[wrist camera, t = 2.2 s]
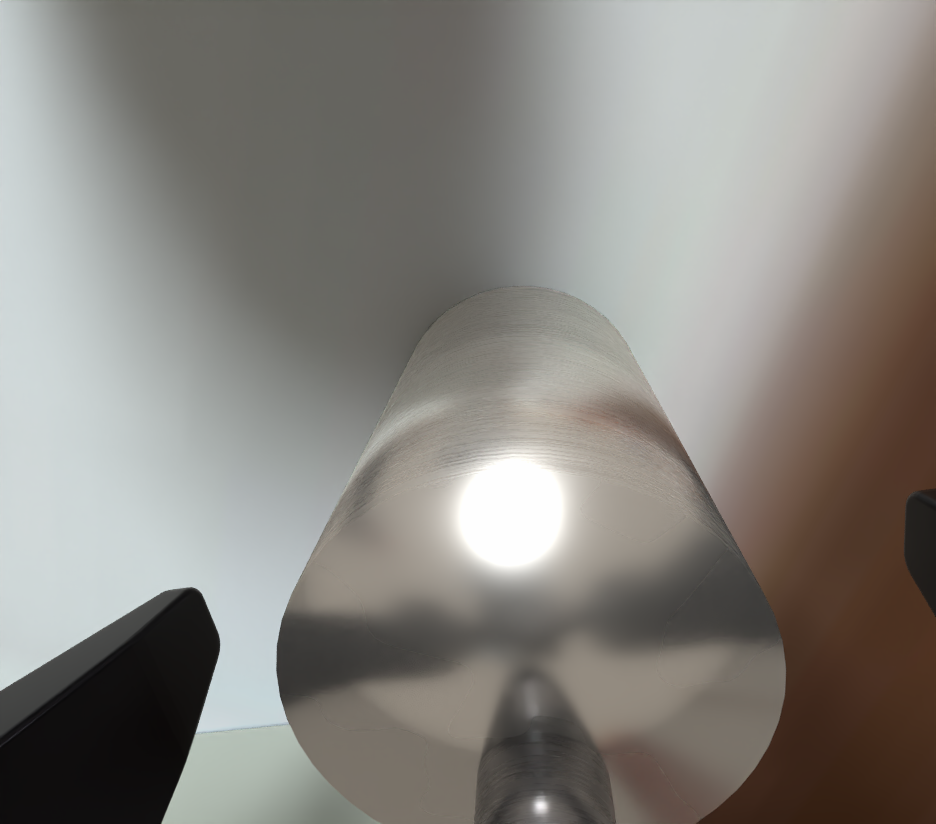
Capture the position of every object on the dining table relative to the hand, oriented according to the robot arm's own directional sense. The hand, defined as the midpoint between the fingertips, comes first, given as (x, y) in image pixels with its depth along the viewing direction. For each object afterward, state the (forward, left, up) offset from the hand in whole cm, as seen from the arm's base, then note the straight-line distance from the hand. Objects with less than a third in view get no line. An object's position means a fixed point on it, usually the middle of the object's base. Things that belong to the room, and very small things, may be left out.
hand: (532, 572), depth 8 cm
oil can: (0, 0, -6) cm, 6 cm away
